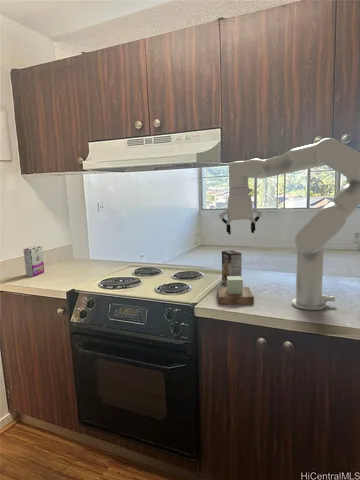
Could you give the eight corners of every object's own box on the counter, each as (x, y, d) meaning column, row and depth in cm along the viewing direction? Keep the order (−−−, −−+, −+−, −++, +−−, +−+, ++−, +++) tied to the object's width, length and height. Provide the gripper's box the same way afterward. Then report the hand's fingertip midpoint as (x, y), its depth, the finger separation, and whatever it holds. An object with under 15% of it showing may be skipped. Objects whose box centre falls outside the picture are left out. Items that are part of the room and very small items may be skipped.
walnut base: (248, 293, 146) (248, 286, 146) (253, 303, 133) (253, 296, 132) (217, 293, 147) (217, 287, 147) (219, 304, 133) (219, 297, 133)
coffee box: (221, 282, 166) (221, 250, 163) (232, 280, 168) (232, 249, 166) (230, 286, 157) (230, 253, 155) (242, 285, 159) (242, 252, 157)
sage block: (240, 289, 142) (240, 276, 141) (242, 293, 136) (242, 279, 135) (226, 289, 143) (226, 276, 142) (228, 294, 137) (228, 280, 136)
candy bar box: (37, 272, 200) (34, 245, 198) (44, 272, 199) (42, 245, 197) (25, 276, 189) (22, 248, 187) (33, 277, 188) (30, 248, 186)
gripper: (258, 191, 138) (260, 231, 140) (217, 193, 139) (219, 233, 141) (262, 190, 131) (263, 233, 133) (219, 193, 131) (221, 235, 134)
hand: (241, 233), depth 137 cm, fingers open, 9 cm apart
